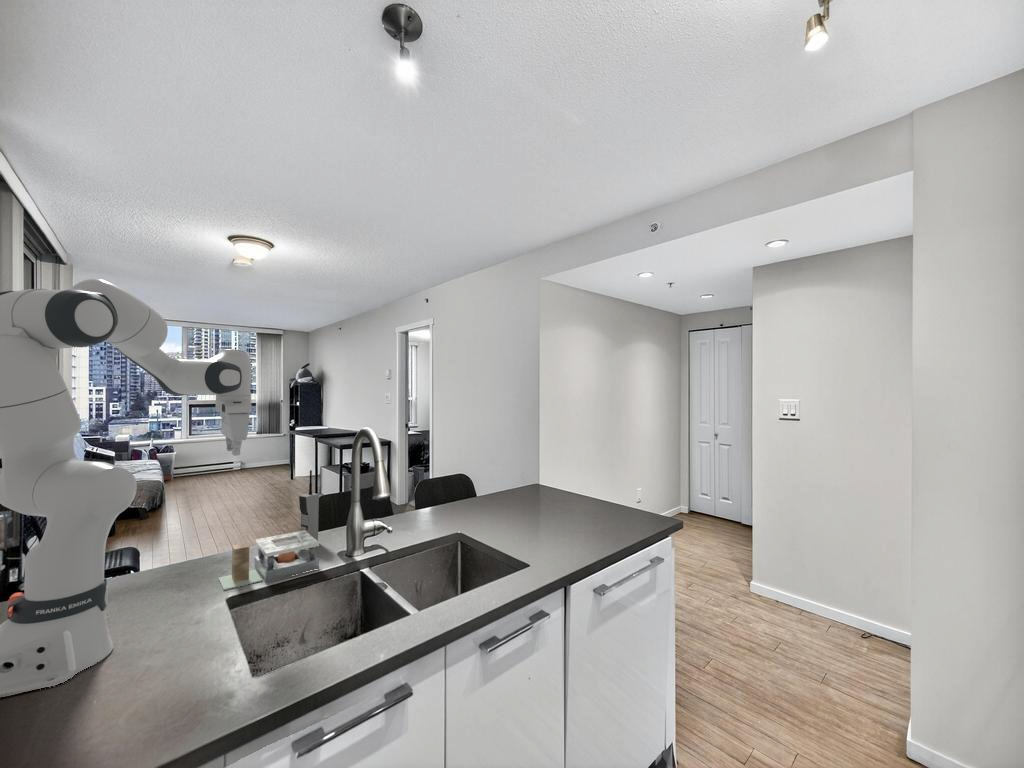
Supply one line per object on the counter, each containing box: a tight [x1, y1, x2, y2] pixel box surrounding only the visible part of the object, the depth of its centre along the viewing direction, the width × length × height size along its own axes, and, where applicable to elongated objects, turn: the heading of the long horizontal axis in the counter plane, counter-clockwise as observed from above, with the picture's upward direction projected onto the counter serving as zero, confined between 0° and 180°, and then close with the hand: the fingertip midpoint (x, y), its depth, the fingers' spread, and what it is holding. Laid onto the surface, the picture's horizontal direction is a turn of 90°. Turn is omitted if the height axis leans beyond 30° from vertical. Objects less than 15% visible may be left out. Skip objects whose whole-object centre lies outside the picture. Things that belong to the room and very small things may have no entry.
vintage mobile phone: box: [298, 469, 320, 542], centre depth 153 cm, size 4×5×25 cm
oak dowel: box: [231, 542, 250, 583], centre depth 124 cm, size 4×4×9 cm
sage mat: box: [217, 569, 263, 591], centre depth 124 cm, size 9×9×1 cm
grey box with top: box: [254, 530, 320, 584], centre depth 133 cm, size 14×14×8 cm
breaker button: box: [278, 551, 295, 564], centre depth 133 cm, size 4×4×4 cm
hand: (233, 453), depth 131 cm, fingers open, 8 cm apart
